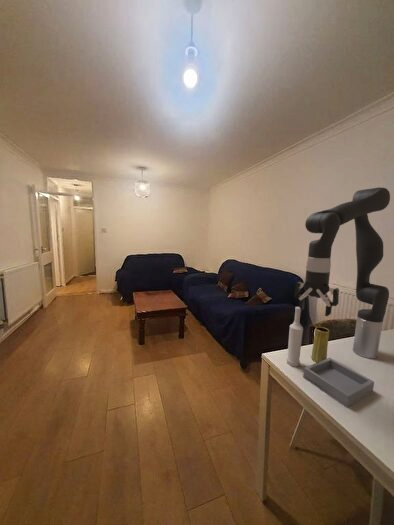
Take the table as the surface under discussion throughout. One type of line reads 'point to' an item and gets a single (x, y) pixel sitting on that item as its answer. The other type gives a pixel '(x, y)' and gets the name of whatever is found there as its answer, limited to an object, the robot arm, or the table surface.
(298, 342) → the bottle
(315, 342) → the vase
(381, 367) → the table surface
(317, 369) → the bin
